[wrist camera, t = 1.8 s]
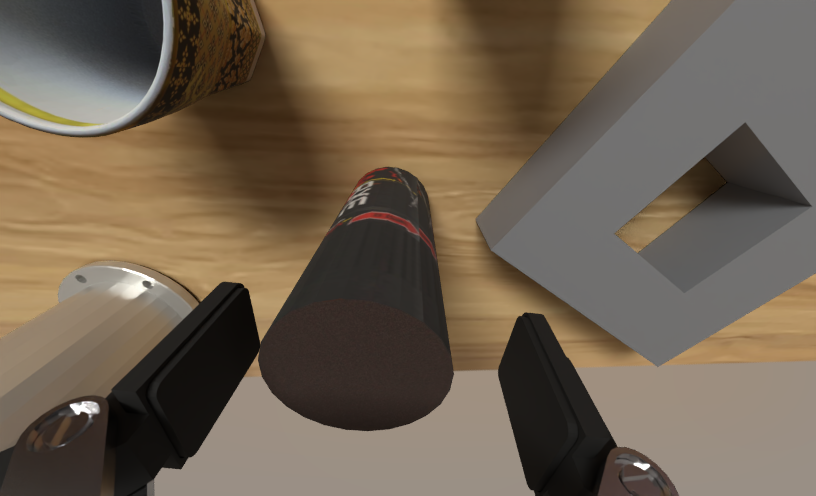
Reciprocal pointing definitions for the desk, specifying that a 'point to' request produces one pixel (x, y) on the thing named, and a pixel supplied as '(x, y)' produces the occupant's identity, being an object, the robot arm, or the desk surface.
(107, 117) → the ceramic cup
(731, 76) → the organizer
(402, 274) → the deodorant
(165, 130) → the desk surface
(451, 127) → the desk surface
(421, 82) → the desk surface
